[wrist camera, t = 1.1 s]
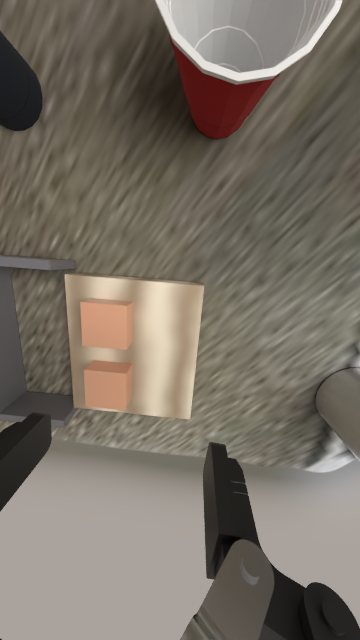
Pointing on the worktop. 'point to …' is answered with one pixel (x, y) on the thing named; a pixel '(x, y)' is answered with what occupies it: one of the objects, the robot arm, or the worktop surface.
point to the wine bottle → (17, 89)
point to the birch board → (142, 340)
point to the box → (6, 356)
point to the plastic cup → (238, 51)
